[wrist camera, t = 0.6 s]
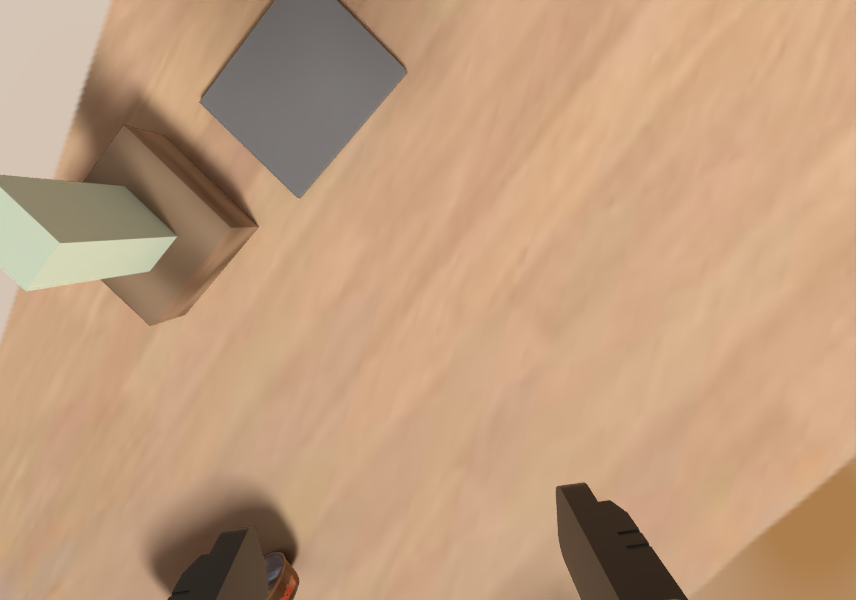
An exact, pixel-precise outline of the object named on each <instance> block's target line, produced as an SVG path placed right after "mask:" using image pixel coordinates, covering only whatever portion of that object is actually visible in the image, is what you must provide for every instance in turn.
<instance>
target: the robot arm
mask: <svg viewBox="0 0 856 600" xmlns="http://www.w3.org/2000/svg"><path fill="white" fill-rule="evenodd" d="M556 504H557V522H558V537H559V543H560V548H561V552H562V555H563V558H564V561H565V563H566V566H567V568H568V570H569V572H570V575H571V577H572V579H573V582H574V584H575V586H576V589H577V591H578V593H579V595H580V598H581V600H688V599H687V597H686V596H685V595H684V593H683V592H682V590H681V589H680V587H679V586H678V585H677V583H676V582H675V580H674V579H673V577H672V576H671V574H670V573H669V572H668V570H667V569H666V567H665V566H664V564H663V563H662V562H661V560H660V559H659V557H658V556H657V554H656V553H655V552H654V550H653V549H652V547H650V546H649V543H648V541H647V540H646V539H645V537H644V536H643V534H642V533H640V531H639V529H638V527H637V526H636V524H635V523H634V521H633V520H632V519H631V517H630V516H629V514H628V513H627V512H626V511H624V510H623V509H621V508H620V507H619V506H617V505H616V504H615V503H613V502H612V501H610V500H609V501H601V502H598V501H597V499H596V498H595V496H594V495H593V493H592V492H591V490H590V488H589V487H588V485H587V484H586V483H576V484H569V485H562V486H557V487H556ZM267 594H268V574H267V569H266V565H265V561H264V557H263V553H262V549H261V545H260V541H259V537H258V533H257V530H256V529H255V527H246V528H239V529H231V530H225V531H223V532H222V533H221V534H220V536H219V538H218V540H217V541H216V543H215V545H214V547H213V549H212V551H211V552H210V554H207V555H201V556H200V557H199V558H198V559H197V560H196V561H195V562H194V563H193V564H192V565H191V566H190V567H189V568H188V569H187V570H186V571H185V572H184V573H183V574H182V576H181V578H180V580H179V581H178V583H177V585H176V586H175V588H174V590H173V592H172V596H171V597H169V599H168V600H266V599H267Z"/></svg>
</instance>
